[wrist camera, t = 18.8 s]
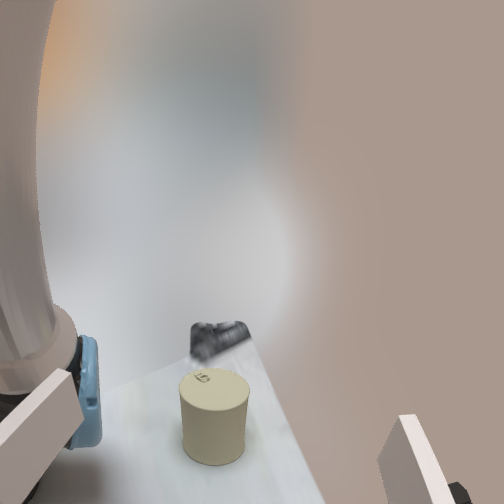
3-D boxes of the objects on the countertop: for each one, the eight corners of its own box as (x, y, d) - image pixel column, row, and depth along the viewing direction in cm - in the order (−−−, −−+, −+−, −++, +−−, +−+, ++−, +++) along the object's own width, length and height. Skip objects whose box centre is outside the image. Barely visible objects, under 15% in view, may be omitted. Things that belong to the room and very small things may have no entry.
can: (217, 416, 46) (218, 358, 43) (257, 446, 40) (265, 388, 37) (170, 438, 39) (164, 378, 37) (209, 475, 33) (208, 418, 31)
